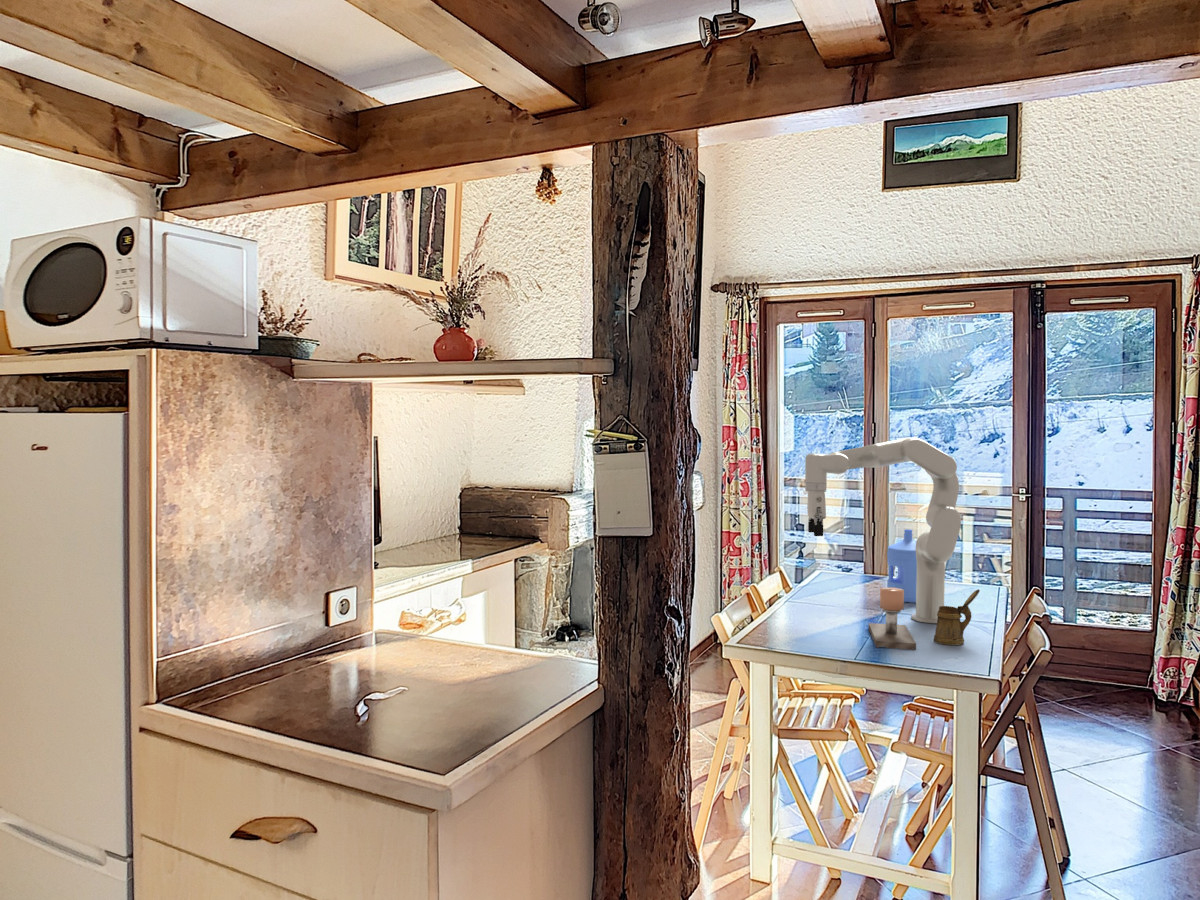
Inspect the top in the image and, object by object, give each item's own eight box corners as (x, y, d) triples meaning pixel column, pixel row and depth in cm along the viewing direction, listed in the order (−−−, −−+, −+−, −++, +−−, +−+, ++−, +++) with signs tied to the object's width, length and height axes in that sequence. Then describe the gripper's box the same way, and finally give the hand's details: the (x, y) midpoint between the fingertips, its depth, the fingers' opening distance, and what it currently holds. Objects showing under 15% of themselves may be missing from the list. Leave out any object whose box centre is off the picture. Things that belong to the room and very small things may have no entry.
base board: (905, 630, 286) (905, 625, 286) (916, 649, 263) (916, 643, 263) (868, 628, 289) (868, 623, 289) (876, 647, 266) (876, 641, 266)
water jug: (923, 595, 344) (924, 528, 343) (931, 604, 328) (932, 533, 327) (883, 594, 347) (884, 527, 346) (889, 602, 331) (891, 532, 330)
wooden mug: (979, 648, 265) (980, 591, 265) (933, 643, 270) (934, 588, 269) (977, 641, 273) (979, 586, 273) (933, 637, 278) (934, 583, 278)
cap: (901, 605, 278) (902, 587, 278) (905, 610, 271) (905, 591, 271) (878, 604, 280) (879, 586, 280) (881, 609, 273) (881, 590, 273)
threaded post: (899, 631, 278) (899, 607, 278) (901, 635, 273) (901, 611, 272) (881, 630, 279) (881, 606, 279) (883, 634, 274) (883, 610, 274)
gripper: (831, 489, 296) (831, 537, 297) (820, 485, 313) (820, 531, 314) (810, 489, 296) (810, 537, 297) (800, 485, 314) (800, 531, 314)
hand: (815, 534), depth 306 cm, fingers open, 9 cm apart
